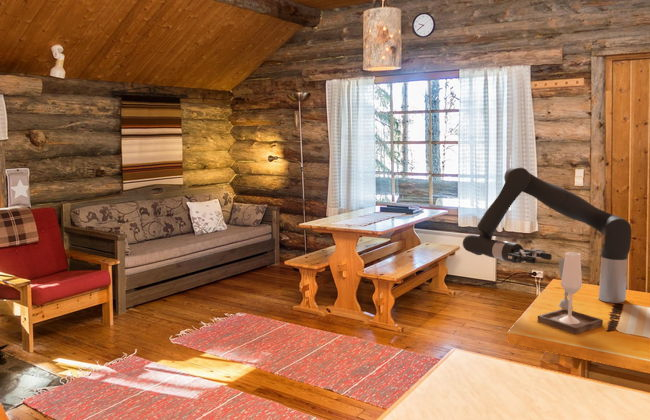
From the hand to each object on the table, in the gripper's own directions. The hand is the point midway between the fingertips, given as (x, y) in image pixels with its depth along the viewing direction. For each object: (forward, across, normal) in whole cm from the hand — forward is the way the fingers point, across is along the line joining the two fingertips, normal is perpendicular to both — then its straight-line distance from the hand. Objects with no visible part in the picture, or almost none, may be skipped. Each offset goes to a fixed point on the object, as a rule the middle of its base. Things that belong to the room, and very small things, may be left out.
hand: (543, 258), depth 206 cm
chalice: (-2, +16, +22) cm, 27 cm away
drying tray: (+11, 0, +21) cm, 24 cm away
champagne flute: (+11, 0, +20) cm, 23 cm away
